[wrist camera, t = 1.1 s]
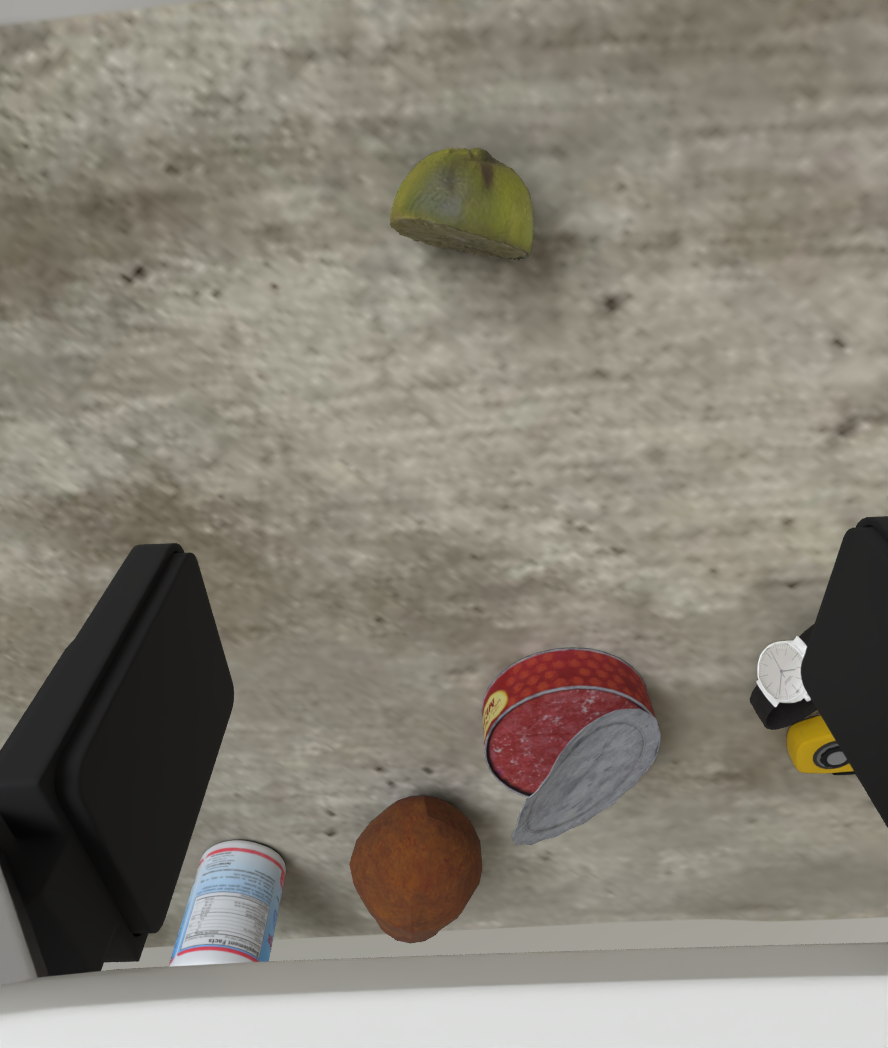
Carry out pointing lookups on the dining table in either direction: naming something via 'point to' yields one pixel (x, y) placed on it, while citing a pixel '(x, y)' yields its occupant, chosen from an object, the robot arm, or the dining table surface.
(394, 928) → the potato
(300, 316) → the dining table surface
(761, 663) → the watch
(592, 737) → the canned food
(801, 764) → the yellow walkie talkie
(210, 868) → the pill bottle
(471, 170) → the lime
